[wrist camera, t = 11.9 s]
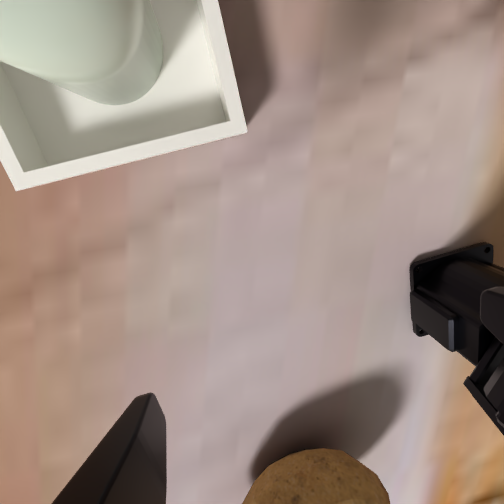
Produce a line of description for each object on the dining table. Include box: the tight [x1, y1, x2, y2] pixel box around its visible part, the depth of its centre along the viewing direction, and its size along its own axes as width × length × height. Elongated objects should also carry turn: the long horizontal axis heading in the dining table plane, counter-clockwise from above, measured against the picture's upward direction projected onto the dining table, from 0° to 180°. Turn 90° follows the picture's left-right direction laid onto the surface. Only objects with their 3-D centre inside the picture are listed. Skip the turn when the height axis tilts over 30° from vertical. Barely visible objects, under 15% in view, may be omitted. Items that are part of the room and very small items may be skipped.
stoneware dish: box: [0, 0, 248, 191], centre depth 14 cm, size 11×11×3 cm
